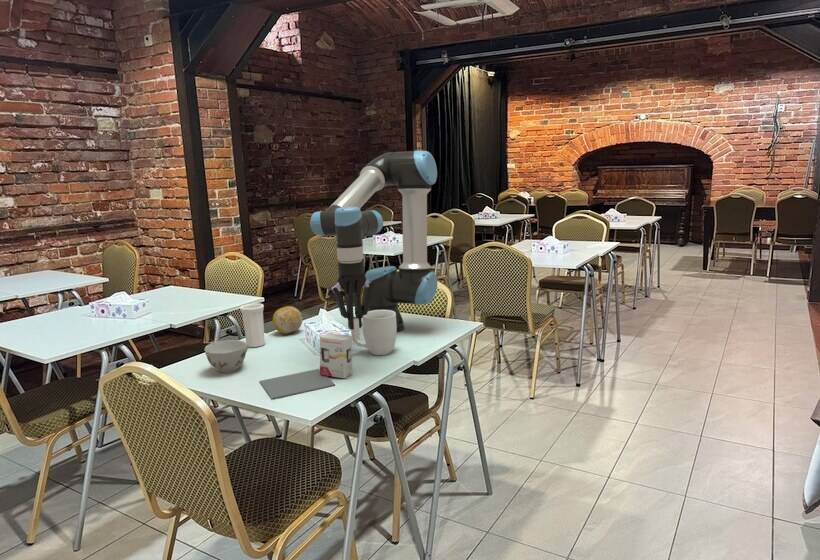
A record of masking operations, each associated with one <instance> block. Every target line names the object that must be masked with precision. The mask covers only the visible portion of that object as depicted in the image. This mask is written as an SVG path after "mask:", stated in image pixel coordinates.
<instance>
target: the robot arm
mask: <svg viewBox="0 0 820 560" xmlns="http://www.w3.org/2000/svg"><path fill="white" fill-rule="evenodd" d="M437 178H438V169H437V164H436V160H435V158H434V156H433V155H432V153H431V152H429V151H427V150H419V149H418V150H406V151H405V150H404V151H391V152H390V151H389V152H386V153H383V154H381V155H379V156H376V157H375V158H374V159H373V160H371V161H370V162H367V164H366V165H365V166H364V167H363V168H362V169H361V171H360V172H359V176H358V177H357V178H356V179H355V180H354V181H353V182H352V183H351V184H350V185H349V186H348V187H347V188H346V189H345V191H343V192H342V193H341V194H340V195H339V196H338V198H337V199H336V200H335V201H334V202H333V203H331V204H330V206H329V207H328V208H326V210H325V211H324V210H323V211H322V210H320V211H316V212H313V213H312V214H311V216H310V221H309V225H310V226H309V227H310V229H311V231H312V232H313V234H314V235H317V236H323V237H330V236H331V237H333V236H334V237H336V253H337V261H338V263H337V268H338V269H337V270H338V279H337V283H336V284H335V285H334V286H331V287H330V291H331V292H332V293H333V294H334V297H335V300H336V302H337V307H338V310H339V313H340V315H341V317H342V318H344V319H347V327H348V329H349V330H351V331H350V332H351V333H352V335H351V336H352V339H354V340H355V341H359V340H361V335H360V334H361V333H360V329H361V328H362V329H363V326H362V318H363V315H366V314H367V312H368V311H373V310H391V311H394V312H395V313H396V325H397V333H398V332H400V331H403V330H404V326H405V323H404V322H405V321H404V319H403V316H402V314H401V312H400V309H399V304H411V305H416V306H418V305H429V304H430V303H431V302H432V301H433V300H434V298H435V296H436V294H437V289H438V278H437V274H436V273H435V272H433V271H432V266H431V265H430V264H429V263H428V211H427V210H428V205H427V203H428V202H427V201H428V197H427V196H428V194H429V192H431V191H432V186H433V185H434V184H436V182H437ZM388 186H397V190H398V192H399V193H400V194H401V195H402V263H401V264H400V265H399V266H398V268H397V267H396V266H394V265H388V266H382V267H376V268H372V269H369V270H367V271H366V272H365V262H364V261H363V260H364V258H365V257H364V243H363V238H366V237H369V236H371V237H372V236H374V235H376V234H378V233H380V232H381V230H383V226H384V220H383V216H382V214H380V212H378V211H377V210H373V209H372V210H371V209H366V210H363V211H361V208H362V207H363V206H364V205H365V203H367V202H368V200H369V199H370V198H371V197H372V196H373V195H374V194H375V193H376V192H378V191H380V190H382V189H383V188H385V187H388ZM363 287H364V289H363ZM362 289H363V294H362ZM341 290H343V291H344V296H345V301H344V299H343V295H342V293H341ZM361 296H362V297H361ZM344 302H345V303H344Z"/></svg>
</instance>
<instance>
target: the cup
mask: <svg viewBox="0 0 820 560" xmlns="http://www.w3.org/2000/svg"><path fill="white" fill-rule="evenodd" d="M264 308H265V306H264V304H263V303H247V304H244V305H241V306H240V307H239V310H240V313H241V314H242V323H243V328H244V336H245V342H246V343H247V345H248V348H256V347H257V348H258V347H262V346H263V345H265V344H266V342H265V327H264Z"/></svg>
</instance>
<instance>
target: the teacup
mask: <svg viewBox="0 0 820 560" xmlns="http://www.w3.org/2000/svg"><path fill="white" fill-rule="evenodd" d="M248 349H249V347H248V345H247V343H246V341H244V340H239V339H238V340H237V339H235V340H234V339H232V340H231V339H230V340H229V339H225V340H219V341H215V342H211V343H208V344H206V346H205V348H204V353H205V356H206V359H207V361H208V363H209V364H210V366H212V367H213V368H214V369H215V370H217V372H219V373H222V374H229V373H233V372H236V371H237V370H238V368H239V367H240V366H241V365H242V364H243V362H244V361H245V358H246V354H247V352H248Z"/></svg>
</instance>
